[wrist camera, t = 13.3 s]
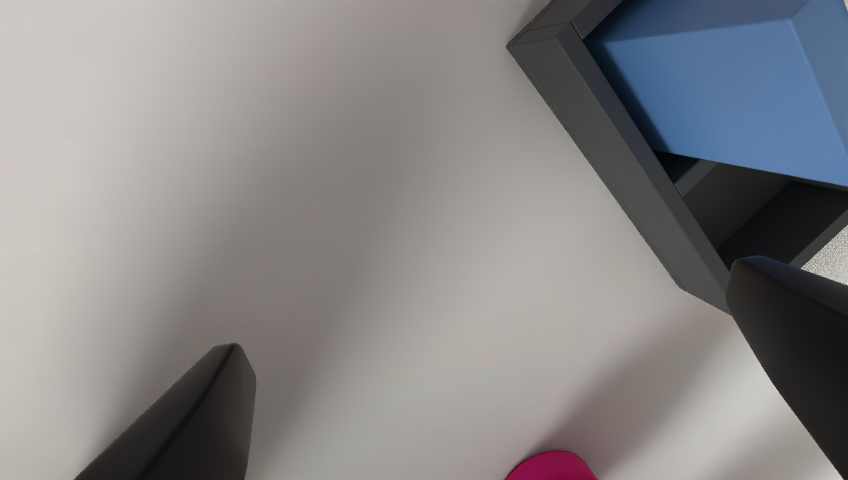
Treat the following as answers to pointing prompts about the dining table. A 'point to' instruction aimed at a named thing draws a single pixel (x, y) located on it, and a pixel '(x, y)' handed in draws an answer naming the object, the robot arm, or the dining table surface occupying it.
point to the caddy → (672, 169)
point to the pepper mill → (553, 468)
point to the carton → (734, 80)
